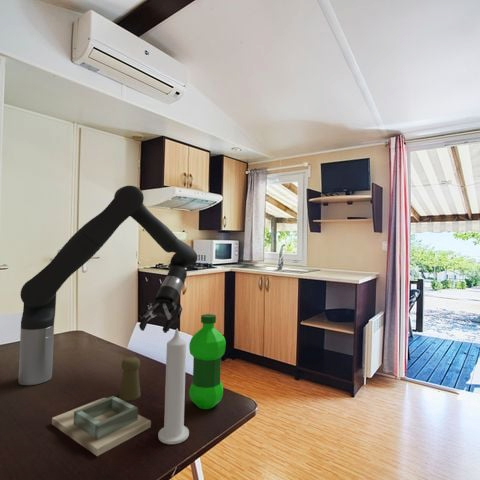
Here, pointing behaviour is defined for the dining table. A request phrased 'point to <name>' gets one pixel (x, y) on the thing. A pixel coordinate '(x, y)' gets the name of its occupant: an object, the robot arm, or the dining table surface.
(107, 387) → the dining table surface
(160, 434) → the candle
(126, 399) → the cork
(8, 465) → the dining table surface
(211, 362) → the plastic bottle
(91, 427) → the board
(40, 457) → the dining table surface
